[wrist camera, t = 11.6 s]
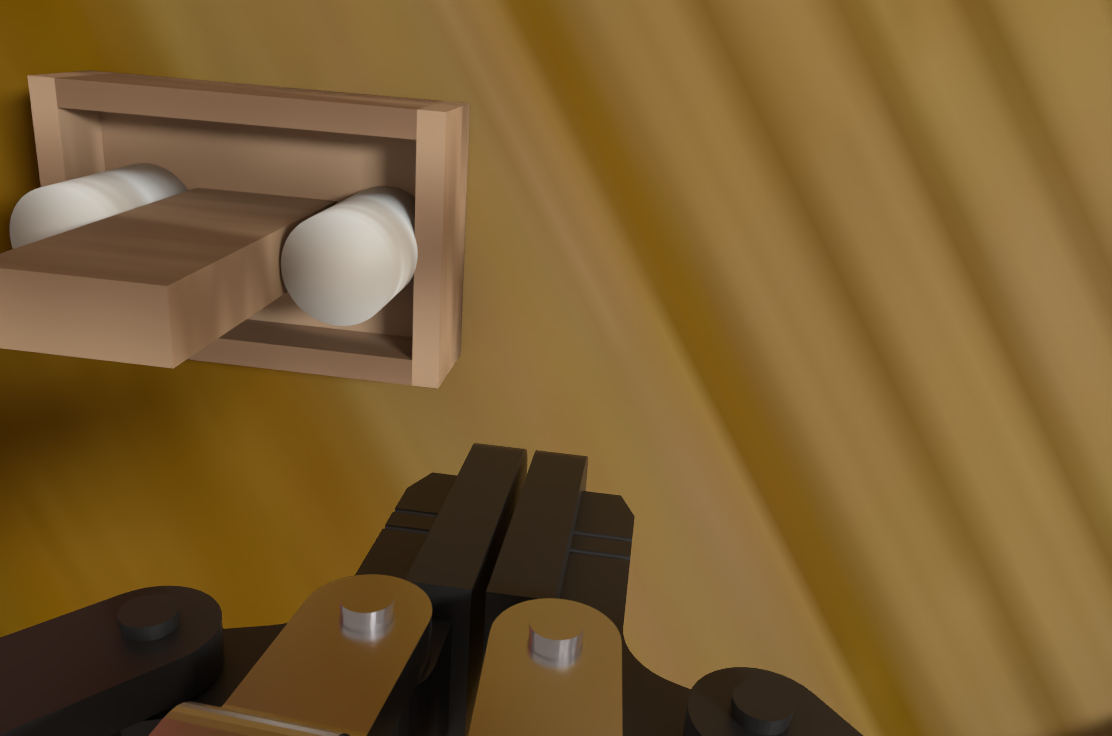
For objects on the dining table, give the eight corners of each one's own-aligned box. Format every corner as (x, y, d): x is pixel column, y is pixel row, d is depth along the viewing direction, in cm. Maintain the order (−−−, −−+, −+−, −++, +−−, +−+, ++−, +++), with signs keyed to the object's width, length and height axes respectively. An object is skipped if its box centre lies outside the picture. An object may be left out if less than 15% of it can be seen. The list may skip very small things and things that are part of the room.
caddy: (460, 355, 31) (348, 520, 21) (114, 316, 32) (-155, 454, 22) (469, 103, 28) (345, 148, 18) (90, 70, 29) (-232, 95, 19)
